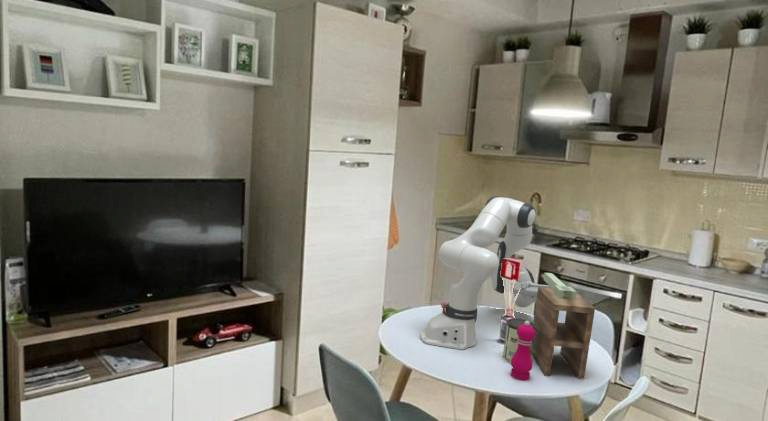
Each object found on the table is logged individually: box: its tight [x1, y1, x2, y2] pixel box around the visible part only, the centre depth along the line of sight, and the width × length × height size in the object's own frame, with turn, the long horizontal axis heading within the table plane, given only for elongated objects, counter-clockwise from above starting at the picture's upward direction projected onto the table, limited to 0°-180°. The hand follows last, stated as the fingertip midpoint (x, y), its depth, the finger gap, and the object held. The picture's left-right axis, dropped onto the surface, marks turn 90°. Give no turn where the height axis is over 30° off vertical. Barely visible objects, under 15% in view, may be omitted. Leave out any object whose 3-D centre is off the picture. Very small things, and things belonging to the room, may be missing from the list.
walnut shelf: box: [531, 287, 596, 380], centre depth 188 cm, size 14×20×26 cm
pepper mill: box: [510, 320, 535, 381], centre depth 177 cm, size 7×7×20 cm
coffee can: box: [502, 318, 535, 364], centre depth 191 cm, size 10×10×14 cm
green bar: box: [543, 272, 577, 300], centre depth 196 cm, size 6×24×3 cm, turn 179°
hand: (540, 285), depth 217 cm, fingers open, 8 cm apart
